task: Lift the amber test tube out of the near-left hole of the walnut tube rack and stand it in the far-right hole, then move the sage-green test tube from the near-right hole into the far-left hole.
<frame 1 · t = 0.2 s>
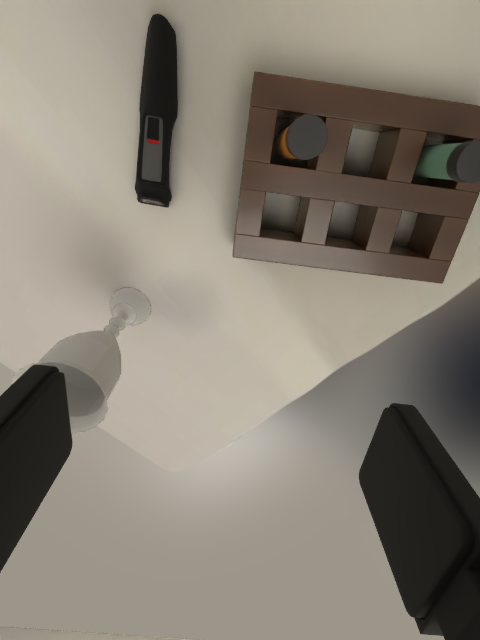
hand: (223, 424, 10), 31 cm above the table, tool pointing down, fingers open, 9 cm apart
chalice: (130, 306, 42), on the table
rack: (345, 186, 36), on the table
sage tube: (416, 161, 35), resting in rack
electric trimmer: (158, 127, 34), on the table
amber tube: (290, 143, 34), resting in rack
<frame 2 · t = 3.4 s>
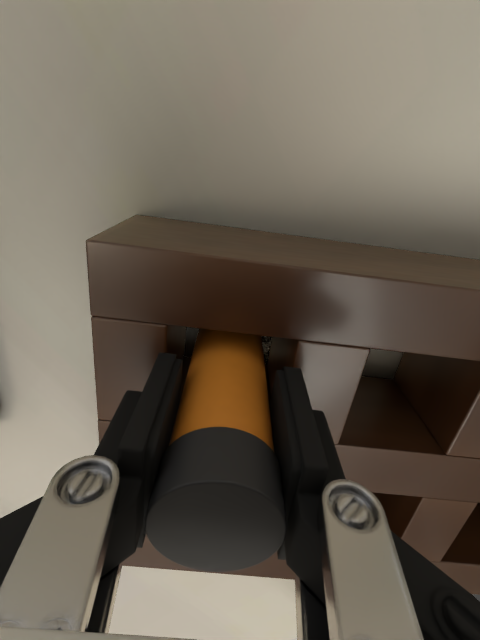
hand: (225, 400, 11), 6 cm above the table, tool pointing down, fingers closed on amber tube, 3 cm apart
rack: (347, 393, 18), on the table
amber tube: (230, 323, 16), resting in rack, touching gripper
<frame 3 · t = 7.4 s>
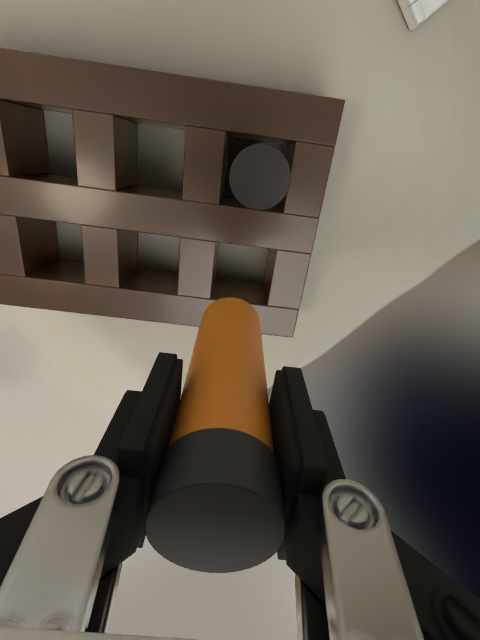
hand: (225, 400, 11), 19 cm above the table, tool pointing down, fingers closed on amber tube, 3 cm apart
rack: (164, 205, 26), on the table
sage tube: (253, 171, 25), resting in rack
amber tube: (230, 324, 16), point 13 cm above the table, touching gripper
when the fingers open (8 cm above the table, at t = 11.4 s): amber tube drops 2 cm, resting in rack.
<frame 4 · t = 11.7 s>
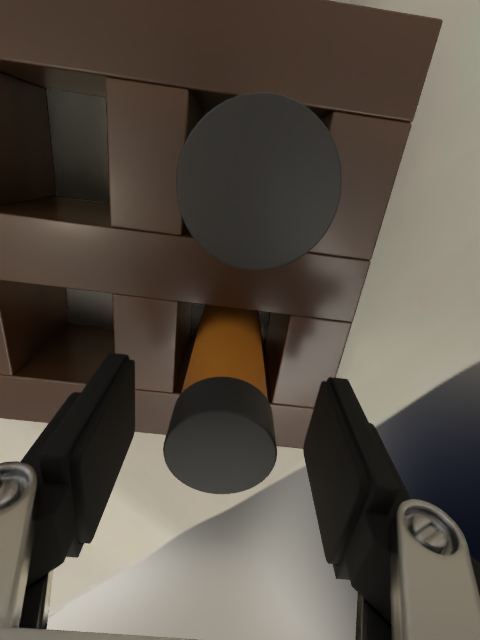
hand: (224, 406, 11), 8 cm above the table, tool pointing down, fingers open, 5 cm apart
rack: (103, 228, 16), on the table
sage tube: (248, 173, 15), resting in rack
amber tube: (231, 307, 18), resting in rack
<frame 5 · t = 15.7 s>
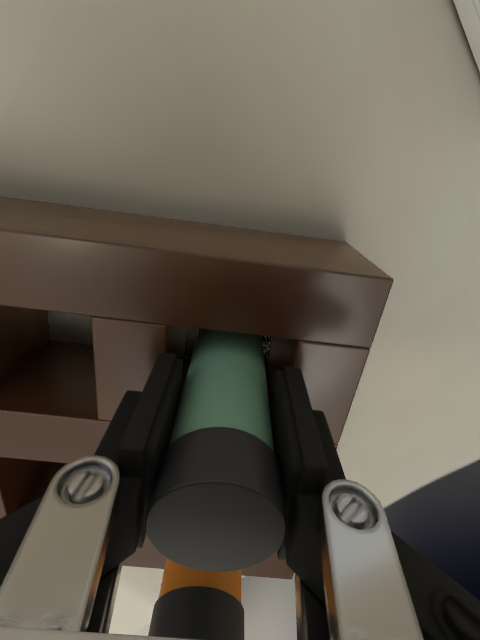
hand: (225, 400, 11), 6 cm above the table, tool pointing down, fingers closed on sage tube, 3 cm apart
rack: (95, 365, 17), on the table
sage tube: (230, 323, 16), resting in rack, touching gripper
amber tube: (216, 427, 19), resting in rack
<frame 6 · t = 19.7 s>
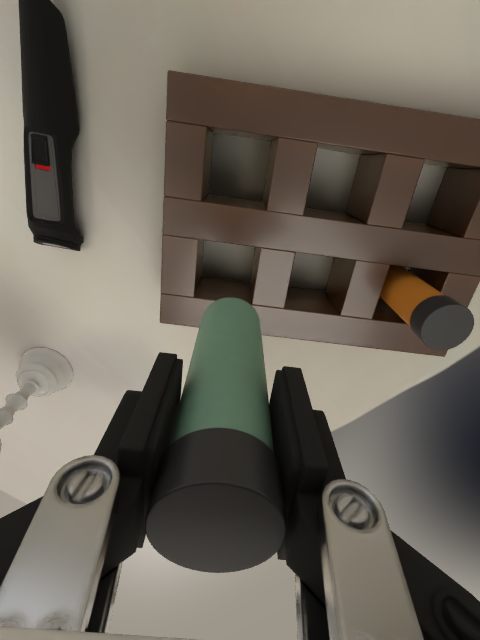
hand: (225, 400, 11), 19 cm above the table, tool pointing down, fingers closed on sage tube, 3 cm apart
chalice: (47, 368, 33), on the table
rack: (315, 225, 27), on the table
sage tube: (230, 323, 16), point 13 cm above the table, touching gripper
electric trimmer: (58, 146, 25), on the table
amber tube: (382, 274, 29), resting in rack
when the fingers open (8 cm above the table, at t = 23.6 s): sage tube drops 2 cm, resting in rack.
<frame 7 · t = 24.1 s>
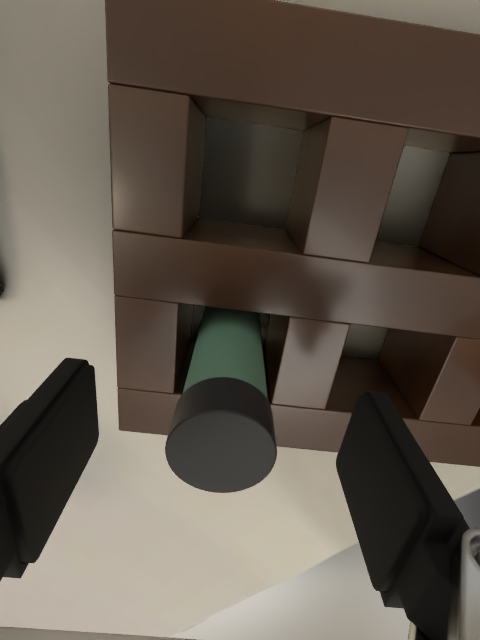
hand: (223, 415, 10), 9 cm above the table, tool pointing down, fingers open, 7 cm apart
rack: (369, 264, 17), on the table
sage tube: (231, 308, 18), resting in rack
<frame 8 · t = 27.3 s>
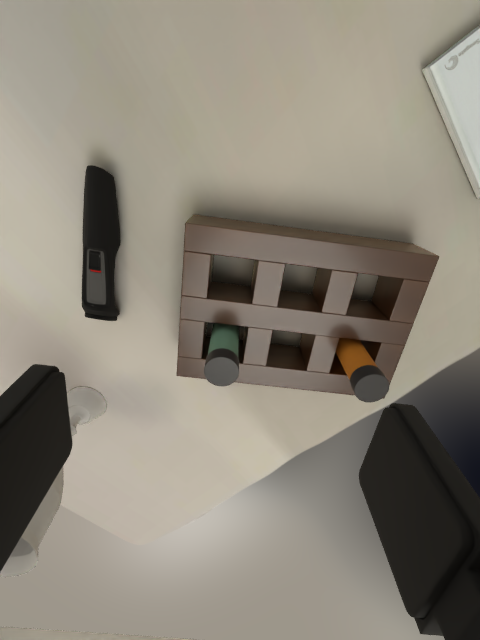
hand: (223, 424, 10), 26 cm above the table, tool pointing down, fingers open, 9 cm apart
chalice: (86, 401, 43), on the table
rack: (290, 301, 37), on the table
sage tube: (226, 321, 38), resting in rack
electric trimmer: (103, 250, 34), on the table
amber tube: (341, 335, 38), resting in rack
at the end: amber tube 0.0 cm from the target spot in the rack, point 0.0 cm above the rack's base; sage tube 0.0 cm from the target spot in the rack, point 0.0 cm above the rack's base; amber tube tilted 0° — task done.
